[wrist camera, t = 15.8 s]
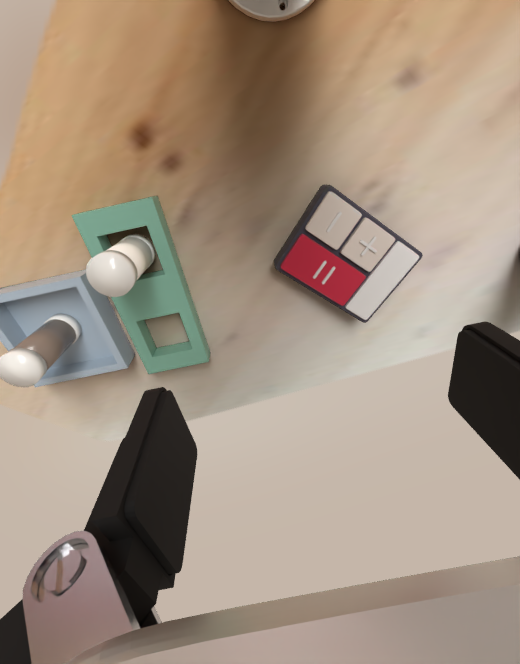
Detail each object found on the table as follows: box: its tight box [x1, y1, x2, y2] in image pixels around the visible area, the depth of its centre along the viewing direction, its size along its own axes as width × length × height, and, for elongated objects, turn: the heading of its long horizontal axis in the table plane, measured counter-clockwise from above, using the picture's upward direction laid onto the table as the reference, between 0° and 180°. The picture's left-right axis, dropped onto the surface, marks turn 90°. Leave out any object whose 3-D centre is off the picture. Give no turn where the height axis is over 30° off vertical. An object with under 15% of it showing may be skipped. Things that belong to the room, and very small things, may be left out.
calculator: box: [274, 185, 422, 323], centre depth 37 cm, size 11×4×15 cm
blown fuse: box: [0, 313, 82, 387], centre depth 35 cm, size 4×4×10 cm
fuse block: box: [72, 196, 210, 374], centre depth 38 cm, size 22×9×2 cm, turn 11°
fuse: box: [86, 234, 156, 297], centre depth 32 cm, size 4×4×10 cm
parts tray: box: [0, 270, 135, 387], centre depth 39 cm, size 13×13×4 cm
